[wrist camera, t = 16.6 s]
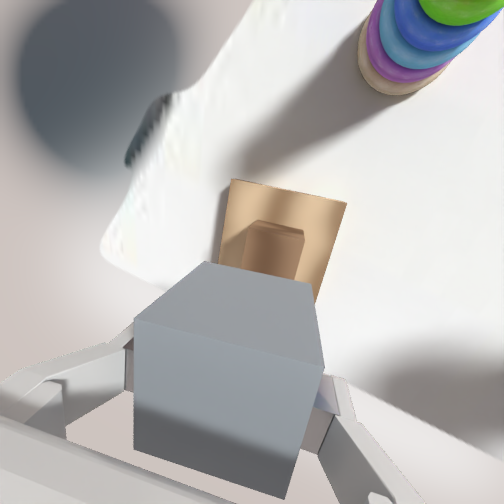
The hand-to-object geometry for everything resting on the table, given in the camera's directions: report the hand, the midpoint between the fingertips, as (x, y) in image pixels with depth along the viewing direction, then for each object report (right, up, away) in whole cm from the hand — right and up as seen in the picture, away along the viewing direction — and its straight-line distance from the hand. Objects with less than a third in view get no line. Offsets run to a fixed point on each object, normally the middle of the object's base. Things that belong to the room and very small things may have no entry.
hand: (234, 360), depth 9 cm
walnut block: (+3, +5, +16) cm, 17 cm away
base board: (+4, +6, +19) cm, 20 cm away
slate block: (+1, +1, +2) cm, 3 cm away
